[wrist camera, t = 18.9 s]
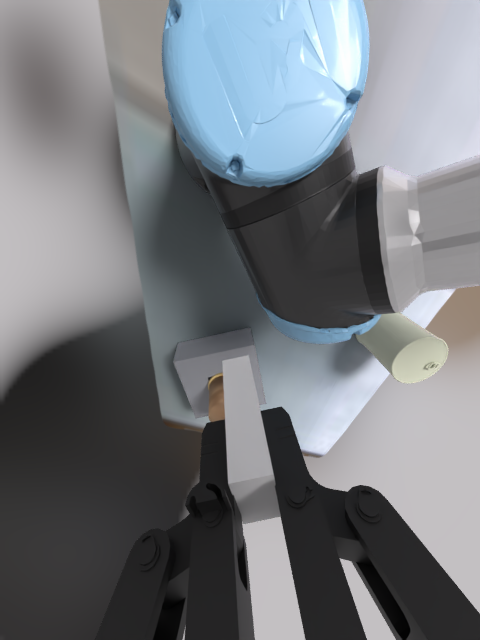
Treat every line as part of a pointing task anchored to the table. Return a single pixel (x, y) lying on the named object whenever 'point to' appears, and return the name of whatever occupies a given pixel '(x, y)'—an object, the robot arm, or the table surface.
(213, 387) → the walnut peg
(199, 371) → the socket block
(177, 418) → the table surface
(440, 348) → the can
